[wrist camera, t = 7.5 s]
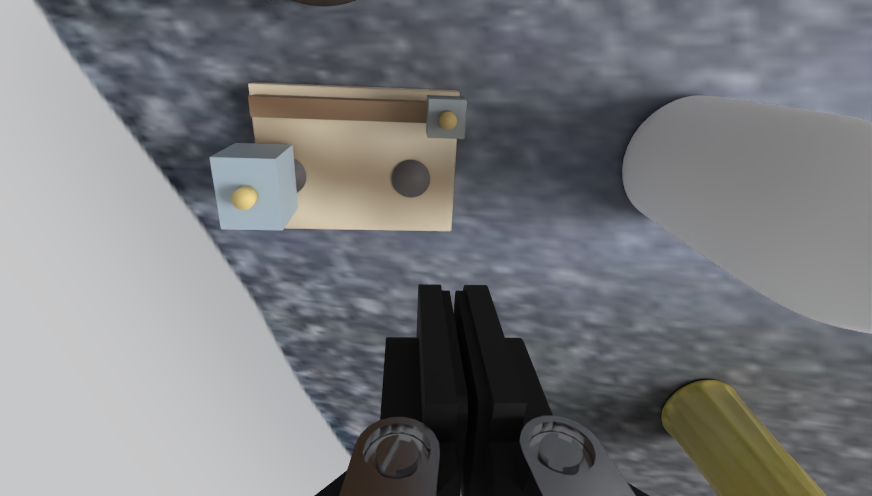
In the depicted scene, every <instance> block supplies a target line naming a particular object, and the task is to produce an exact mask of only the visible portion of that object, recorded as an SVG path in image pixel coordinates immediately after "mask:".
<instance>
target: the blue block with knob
mask: <svg viewBox="0 0 872 496" xmlns="http://www.w3.org/2000/svg"><path fill="white" fill-rule="evenodd" d="M209 158H210V164H211V170H212V176H213V182H214V189H215V195H216V201H217V207H218V213H219V219H220V226H221V229H232V230H283V229H284V228H285V226H286V225H287V224H288V222H289V221H290V219H291V218H292V216H293V215H294V213H295V212H296V210H297V209H298V200H297V189H296V177H295V165H294V154H293V145H290V144H258V143H234V144H232V145H231V146H229V147H227V148H225V149H223V150H221V151H220V152H218V153H216V154H214V155H212V156H210V157H209Z"/></svg>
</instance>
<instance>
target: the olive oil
mask: <svg viewBox="0 0 872 496" xmlns="http://www.w3.org/2000/svg"><path fill="white" fill-rule="evenodd" d="M266 1H267V2H269V3H272V4H276V3H275V2H272V1H271V0H266ZM293 1H296V2H300V3H303V4H308V5H315V6H335V5H341V4H346V3H349V2H352V1H355V0H293ZM278 5H279V4H278Z"/></svg>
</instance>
